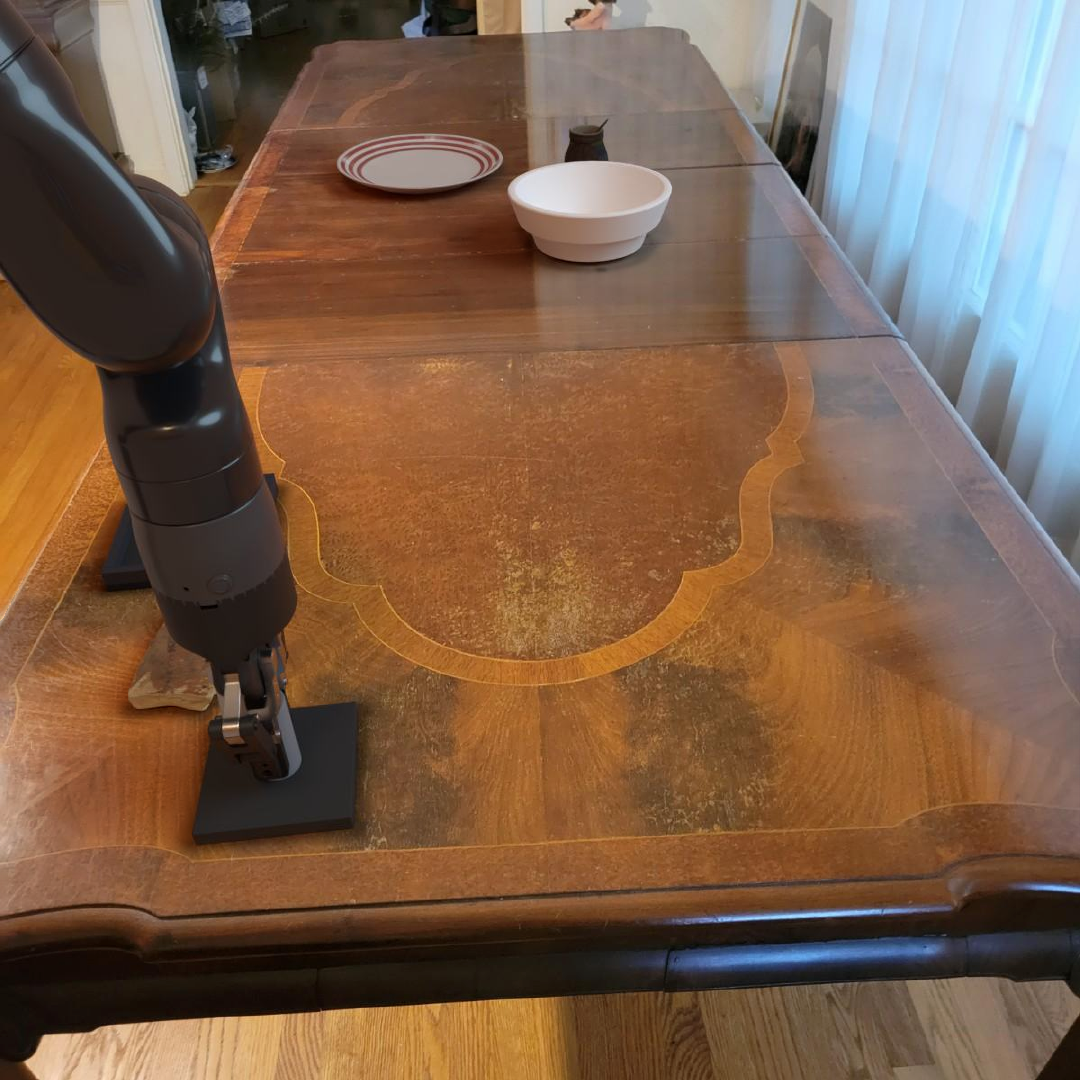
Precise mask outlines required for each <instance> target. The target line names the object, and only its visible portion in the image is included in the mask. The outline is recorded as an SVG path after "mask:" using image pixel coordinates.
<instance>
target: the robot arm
mask: <svg viewBox="0 0 1080 1080" xmlns="http://www.w3.org/2000/svg"><path fill="white" fill-rule="evenodd" d="M34 32H35V30H34V29H33V27H32V26H31V24H29V22H28V21H27V20H26V19H25V18H24V16H23V15H22V14H21V13H20V12H19V10H18V9H17V8H16V6H15V5H14V4H13V3H12V1H11V0H0V276H2V278H3V279H4V280H5V282H6V283H7V284H8V285H9V287H10V288H11V290H12V291H13V292H14V293H15V294H16V295H17V297H18V298H19V300H20V301H21V302H22V303H23V304H24V305H25V307H26V308H27V309H28V310H29V311H30V313H32V315H33V317H35V318H36V319H37V320H38V322H40V323H41V324H42V325H43V326H44V327H45V329H47V330H48V331H49V333H51V334H52V335H53V336H54V337H55V338H56V339H57V340H58V341H60V342H61V343H62V344H64V345H65V347H67V348H69V349H70V350H71V351H73V352H74V353H75V354H76V355H78V356H80V357H81V358H83V359H85V360H87V361H88V362H90V363H91V364H93V365H94V367H95V370H96V373H97V376H98V378H99V379H98V380H99V383H100V388H101V395H102V396H101V397H102V422H103V423H102V424H103V430H104V431H103V432H104V436H105V441H106V445H107V449H108V452H109V456H110V459H111V462H112V465H113V468H114V471H115V473H116V476H117V479H118V482H119V485H120V488H121V490H122V493H123V496H124V499H125V501H126V503H127V504H128V507H129V511H130V514H131V519H132V525H133V531H134V536H135V541H136V544H137V547H138V550H139V553H140V556H141V558H142V561H143V564H144V567H145V569H146V572H147V575H148V578H149V581H150V583H151V586H152V587H151V588H152V592H153V595H154V597H155V599H156V600H155V601H156V603H157V606H158V608H159V612H160V613H161V616H162V619H163V623H164V622H165V625H166V628H167V630H168V633H169V635H170V636H171V638H172V639H173V640H174V641H175V642H176V643H177V644H178V645H179V646H181V647H182V648H184V649H186V650H188V651H190V652H192V653H195V654H197V655H199V656H201V657H203V658H205V668H206V672H207V676H208V680H209V682H210V683H211V684H212V685H213V686H214V687H215V690H216V694H215V695H216V699H217V703H218V705H219V710H220V713H221V714H220V715H222V717H219V718H217V719H214V718H213V719H210V720H209V722H208V726H207V735H208V737H209V741H210V740H211V741H212V742H213V743H214V744H215V746H216V747H217V748H218V749H219V750H220V751H221V752H222V753H223V754H224V755H225V756H226V757H227V758H228V759H229V760H230V761H231V763H232V764H242V763H244V762H250V765H251V768H252V771H253V774H254V777H255V778H256V779H258V780H259V781H261V780H271V779H280V778H285V777H287V776H288V774H289V766H290V764H289V761H288V757H287V754H286V750H285V747H284V743H283V740H282V733H281V730H280V728H279V724H278V719H277V716H278V714H279V711H280V706H281V701H282V699H281V694H280V691H282V693H283V694H284V696H285V700H286V703H287V707H288V710H289V714H290V718H291V721H292V725H293V729H294V720H293V717H292V713H291V709H290V708H291V706H290V702H289V699H288V695H287V692H286V690H287V687H288V685H289V679H288V677H287V674H286V665H287V664H288V659H289V651H287V645H286V637H285V629H286V628H287V626H288V625H290V622H291V621H292V619H293V618H294V616H295V613H296V611H297V606H298V592H297V588H296V585H295V579H294V575H293V571H292V567H291V563H290V559H289V554H288V551H287V546H286V543H285V539H284V538H285V537H284V534H283V530H282V526H281V522H280V516H279V513H278V510H277V506H275V503H274V500H273V497H272V495H271V492H270V490H269V488H268V486H267V483H266V481H265V478H264V475H263V474H264V472H263V467H262V464H261V459H260V455H259V451H258V447H257V443H256V439H255V434H254V431H253V427H252V423H251V421H250V417H249V414H248V411H247V408H246V406H245V403H244V399H243V397H242V395H241V392H240V388H239V386H238V382H237V379H236V377H235V372H234V369H233V364H232V359H231V352H230V345H229V340H228V335H227V334H228V333H227V328H226V323H225V317H224V311H223V307H222V305H223V304H222V301H221V296H220V290H219V284H218V279H217V275H216V274H217V273H216V269H215V264H214V259H213V254H212V250H211V249H212V248H211V245H210V242H209V239H208V235H207V233H206V230H205V228H204V226H203V224H202V222H201V220H200V219H199V217H198V215H197V214H196V213H195V211H194V210H193V208H192V207H191V206H190V205H189V203H187V201H186V200H185V199H184V198H182V196H181V195H179V194H178V193H177V192H176V191H174V190H173V189H171V188H170V187H169V186H167V185H166V184H164V183H162V182H161V181H158V180H156V179H154V178H151V177H149V176H146V175H142V174H139V173H133V172H126V171H125V169H123V167H122V166H121V164H119V162H118V160H116V158H115V157H114V155H112V153H111V152H110V151H109V149H108V148H107V146H105V145H104V143H103V142H102V141H101V139H100V138H99V137H98V136H97V135H96V133H95V131H94V130H93V128H92V127H91V126H90V124H89V122H88V120H87V119H86V117H85V114H84V112H83V109H82V106H81V103H80V99H79V97H78V93H77V92H76V89H75V87H74V85H73V83H72V81H71V80H70V78H69V76H68V74H67V73H66V71H65V69H64V68H63V67H62V65H61V64H60V63H59V61H58V59H57V58H56V56H55V55H54V54H53V53H52V51H51V50H50V48H49V47H48V46H47V44H46V43H45V42H44V41H43V39H42V38H41V37H40V35H39V34H36V33H34ZM264 696H266V697H264ZM260 719H263V720H264V721H265V723H266V725H262V724H261V723H260Z"/></svg>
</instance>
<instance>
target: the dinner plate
mask: <svg viewBox="0 0 1080 1080" xmlns="http://www.w3.org/2000/svg"><path fill="white" fill-rule="evenodd" d="M503 161H504V157H503V153H502V152H501V151H500V150H499V149H498V148H497V147H496V146H494V145H493V144H491V143H489V142H487V141H484V140H482V139H478V138H474V137H469V136H463V135H457V134H448V133H408V134H397V135H391V136H383V137H378V138H375V139H370V140H367V141H365V142H364V141H363V142H361V143H359V144H356V145H354V146H352V147H350V148H348V149H346V150H345V151H344V152H343V153H341V154H340V156H339V157H338V158H337V161H336V167H337V169H338V171H339V172H340V173H341V174H342V175H344V176H345V177H346V178H347V179H349V180H352V181H353V182H356V183H358V184H360V185H362V186H366V187H370V188H374V189H377V190H381V191H384V192H387V193H394V194H402V195H403V194H404V195H425V194H426V195H427V194H437V193H442V192H447V191H451V190H455V189H458V188H461V187H463V186H466V185H467V184H471V183H473V182H476V181H478V180H480V179H483V178H485V177H487V176H488V175H490V174H493V173H494V172H495V171H497V170H498V169H499V168H500V167H501V166H502V164H503Z"/></svg>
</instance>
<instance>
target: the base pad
mask: <svg viewBox="0 0 1080 1080" xmlns="http://www.w3.org/2000/svg"><path fill="white" fill-rule="evenodd" d="M263 475H264V478H265V481H266V483H267V486H268V488H269V490H270V492H271V495H272V497H273V500H274V503H275V506H276V505H277V499H278V493H279V487H278V483H277V479H276V475H275V473H274V472H270V473H269V472H268V473H263ZM276 507H277V506H276ZM105 557H106V558H105V560H104V563H103V566H102V568H101V572H100V576H101V578H102V582H103V583H104V586H105V588H106V591H107V592H119V591H127V590H138V589H148V588H149V589H151V588H152V586H151V583H150V581H149V578H148V575H147V572H146V569H145V567H144V564H143V561H142V558H141V556H140V553H139V550H138V547H137V544H136V541H135V536H134V531H133V525H132V519H131V514H130V511H129V507H128V504H127V502H126V504H125V506H124V509H123V511H122V514H121V517H120V520H119V522H118V525H117V528H116V531H115V533H114V536H113V539H112V541H111V544H110V547H109V549H108V553H107V555H106V556H105Z"/></svg>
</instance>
